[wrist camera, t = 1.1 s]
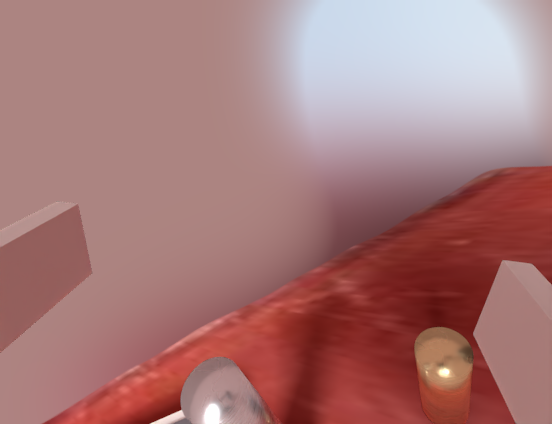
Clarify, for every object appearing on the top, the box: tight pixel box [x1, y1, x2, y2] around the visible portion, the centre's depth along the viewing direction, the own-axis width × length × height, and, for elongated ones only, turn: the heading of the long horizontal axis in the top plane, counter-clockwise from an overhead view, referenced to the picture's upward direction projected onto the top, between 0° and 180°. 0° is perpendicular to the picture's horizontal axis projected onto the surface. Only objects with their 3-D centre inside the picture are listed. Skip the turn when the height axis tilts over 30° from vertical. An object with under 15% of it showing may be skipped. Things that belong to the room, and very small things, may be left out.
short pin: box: [414, 327, 473, 424], centre depth 26 cm, size 4×4×9 cm
